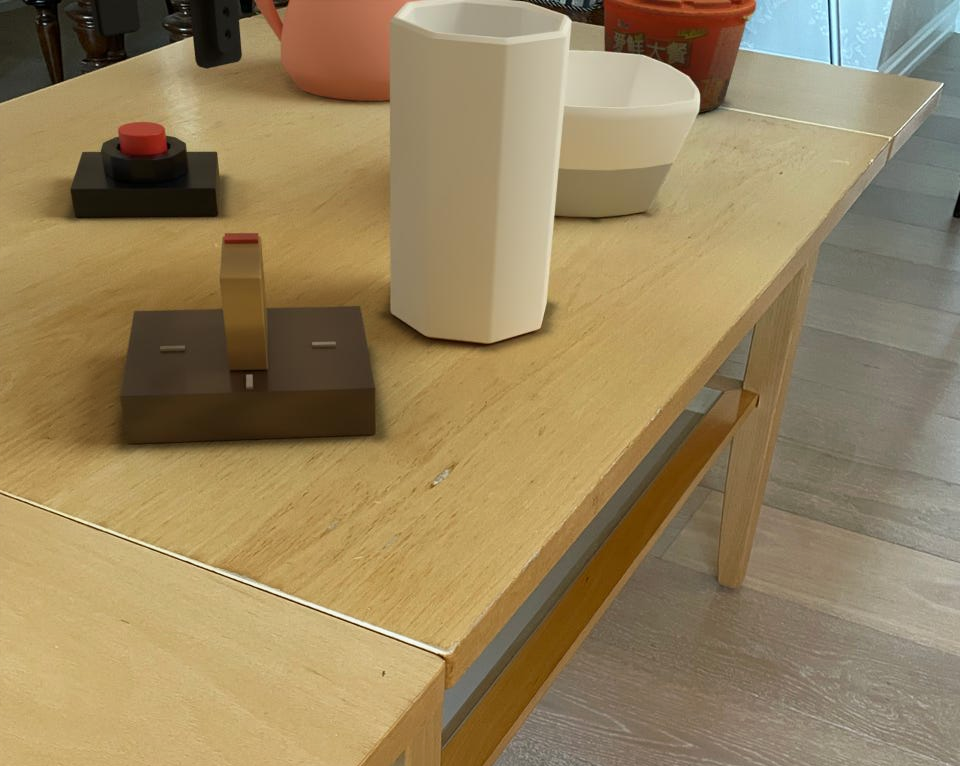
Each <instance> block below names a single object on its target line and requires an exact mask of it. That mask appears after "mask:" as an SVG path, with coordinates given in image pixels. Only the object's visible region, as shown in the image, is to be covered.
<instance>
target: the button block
mask: <svg viewBox="0 0 960 766" xmlns="http://www.w3.org/2000/svg"><path fill="white" fill-rule="evenodd" d="M166 142H167V150H166V151H164V152H162V153H158V154H152V155H132V154H127V153H122V152H121V148H120V141H119V136H115V137H112V138H110V139H108V140H105V141H104V142H102V145H101V147H100V151H82V152H81V154H80V158H79V161H78V164H77V166H76V167H77V168H76V171H75V174H74V177H73V180H72V183H71V187H70V191H69V192H70V197H71V202H72V207H73V213H74V217H75V218H139V217H140V218H141V217H143V218H144V217H145V218H146V217H147V218H148V217H152V218H153V217H155V218H156V217H218V216H219V207H220V206H219V203H220V181H221V180H220V179H221V177H220V167H219V166H220V165H219V155H218V152H217V151H188V150H187V143H186V142H185V141H183V140H181V139H179V138H177V137H176V136H172V135H166Z"/></svg>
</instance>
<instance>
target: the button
mask: <svg viewBox="0 0 960 766" xmlns="http://www.w3.org/2000/svg"><path fill="white" fill-rule="evenodd" d="M117 133H118V137H119V141H120V148H121V152H122V153H127V154H132V155H152V154H158V153H162V152H164V151H166V150H167V142H166V136H167V134H166V128H165V126H164V125H162V124H160V123H157V122H152V121H151V122H150V121H134V122H129V123H125V124H122V125H120V126H119V127H118V128H117Z"/></svg>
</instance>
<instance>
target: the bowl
mask: <svg viewBox="0 0 960 766" xmlns="http://www.w3.org/2000/svg"><path fill="white" fill-rule="evenodd" d="M699 107H700V93H699V90H698V88H697V87H696V85H695V84H694V83H693V81H692V80H691V79H690V77H689V76H687V75H685V74H684V73H682V72H680V71H678V70H677V69H675V68H673V67H672V66H670V65H668V64H665V63H663V62H660V61H658V60H655V59H652V58H650V57H647V56H644V55H638V54H627V53H616V52H605V50H604V51H603V50H575V49H569V56H568V67H567V79H566V90H565V101H564V112H563V124H562V135H561V146H560V157H559V169H558V180H557V191H556V202H555V214H554V217H555V216H556V217H567V218H568V217H575V218H606V217H617V216H626V215H632V214H637V213H644V212H647V211H650V210H651V208H652V207H653V204H655V201H656V199H657V197H658V196H659V192H660V191H661V189H662V187H663V184H664V182H665V180H666V178H667V176H668V174H669V172H670V170H671V168H672V166H673V164H674V162H675V161H676V160H677V157H678V155H679V153H680V151H681V149H682V147H683V145H684V143H685V140H686V139H687V137H688V136H689V135H688V134H689V132H690V131H691V128H692V126H693V125H694V122H695V120H696V119H697V116H698V114H699V113H700V112H699Z"/></svg>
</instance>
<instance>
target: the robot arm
mask: <svg viewBox="0 0 960 766" xmlns="http://www.w3.org/2000/svg"><path fill="white" fill-rule="evenodd" d="M188 2H189V12H190V13H189V14H190V21H191V31H192V40H193V49H194V51H193V52H194V59H195V62H196V65H197V66H198V67H199V68H202V69H206V70H208V69H213V68H217V67H221V66H226V65H230V64H235V63H238V62H240V61H241V59H242V57H243V53H242V42H241V41H242V39H241V28H240V14H239V3H238V2H239V1H238V0H188ZM138 3H139V2H138V0H89V5H90V10H91V17H92V23H93V30H94V33H95V35H97V36H98V37H100V38H109V37H114V36H120V35H125V34H131V33H135V32H138V31H139V30H140V28H141V19H140V11H139V4H138Z"/></svg>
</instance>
